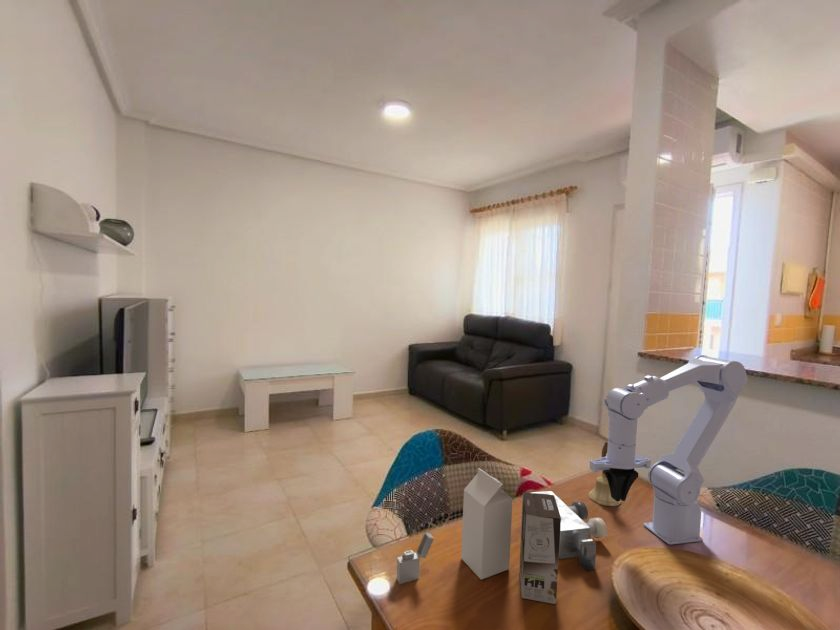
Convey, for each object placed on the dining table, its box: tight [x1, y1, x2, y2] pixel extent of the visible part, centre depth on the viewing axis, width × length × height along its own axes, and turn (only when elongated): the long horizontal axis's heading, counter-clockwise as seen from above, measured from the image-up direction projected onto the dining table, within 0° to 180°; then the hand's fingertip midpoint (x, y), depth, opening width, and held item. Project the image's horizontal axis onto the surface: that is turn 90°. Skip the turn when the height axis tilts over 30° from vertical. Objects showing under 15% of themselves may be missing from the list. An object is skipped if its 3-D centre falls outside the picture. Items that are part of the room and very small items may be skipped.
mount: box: [531, 490, 591, 560], centre depth 93 cm, size 7×16×6 cm, turn 12°
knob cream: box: [585, 517, 608, 539], centre depth 91 cm, size 8×4×4 cm, turn 102°
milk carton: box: [460, 467, 513, 580], centre depth 82 cm, size 7×7×19 cm
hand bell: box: [587, 441, 622, 507], centre depth 110 cm, size 8×8×16 cm
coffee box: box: [519, 491, 561, 605], centre depth 77 cm, size 9×6×16 cm
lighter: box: [396, 532, 434, 585], centre depth 78 cm, size 7×2×8 cm, turn 115°
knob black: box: [568, 501, 589, 521], centre depth 98 cm, size 8×4×4 cm, turn 102°
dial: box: [578, 538, 597, 572], centre depth 82 cm, size 3×3×6 cm
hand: (618, 498), depth 92 cm, fingers closed
